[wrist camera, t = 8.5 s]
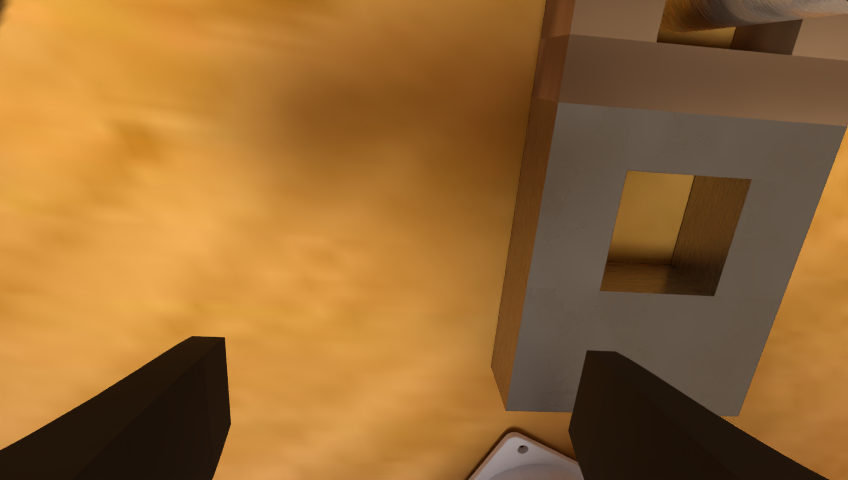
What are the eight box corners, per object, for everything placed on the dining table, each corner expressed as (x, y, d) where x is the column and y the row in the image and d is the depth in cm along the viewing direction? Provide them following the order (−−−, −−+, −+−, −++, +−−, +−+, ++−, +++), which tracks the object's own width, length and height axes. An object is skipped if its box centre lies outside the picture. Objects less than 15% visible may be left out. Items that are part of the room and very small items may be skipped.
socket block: (695, 373, 23) (738, 416, 20) (491, 366, 22) (505, 410, 19) (778, 117, 19) (847, 126, 16) (532, 96, 18) (558, 102, 15)
